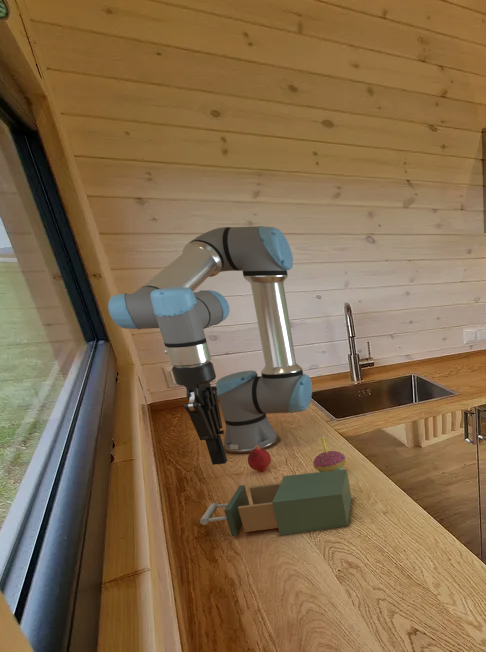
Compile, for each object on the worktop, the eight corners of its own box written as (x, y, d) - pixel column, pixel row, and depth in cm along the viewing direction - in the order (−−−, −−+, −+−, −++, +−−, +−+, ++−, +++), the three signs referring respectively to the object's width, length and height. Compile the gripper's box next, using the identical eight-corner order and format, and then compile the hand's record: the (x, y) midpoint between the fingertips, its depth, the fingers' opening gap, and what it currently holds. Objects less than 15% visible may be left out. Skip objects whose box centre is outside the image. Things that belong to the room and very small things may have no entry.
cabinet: (279, 535, 110) (272, 502, 106) (290, 506, 121) (283, 476, 118) (347, 526, 112) (341, 493, 109) (351, 499, 124) (346, 469, 120)
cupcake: (310, 476, 136) (302, 437, 131) (338, 466, 141) (332, 428, 137) (325, 486, 130) (317, 445, 126) (354, 475, 136) (347, 435, 131)
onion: (264, 477, 136) (258, 451, 133) (246, 475, 137) (239, 449, 134) (277, 467, 141) (271, 442, 138) (260, 466, 142) (254, 441, 139)
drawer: (200, 540, 107) (191, 514, 104) (217, 513, 117) (210, 488, 114) (296, 528, 110) (290, 502, 108) (304, 503, 121) (299, 478, 118)
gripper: (183, 357, 109) (211, 452, 118) (158, 373, 97) (191, 477, 106) (220, 355, 110) (245, 449, 119) (200, 370, 98) (229, 473, 108)
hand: (220, 462), depth 113 cm, fingers closed
